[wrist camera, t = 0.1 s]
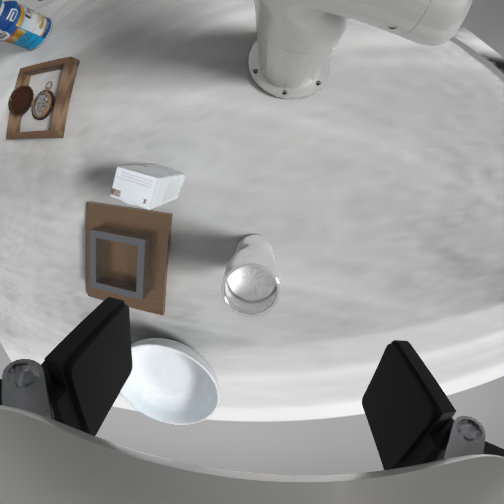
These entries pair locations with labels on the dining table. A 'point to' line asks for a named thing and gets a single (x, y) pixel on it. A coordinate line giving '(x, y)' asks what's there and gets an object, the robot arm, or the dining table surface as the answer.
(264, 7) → the robot arm
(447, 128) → the dining table surface
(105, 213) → the board with square socket
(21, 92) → the compass
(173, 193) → the skincare box
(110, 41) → the dining table surface
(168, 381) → the serving bowl
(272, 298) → the beer glass
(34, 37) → the beverage bottle
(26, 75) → the square wooden tray
